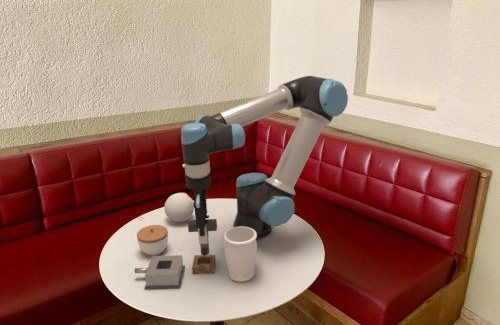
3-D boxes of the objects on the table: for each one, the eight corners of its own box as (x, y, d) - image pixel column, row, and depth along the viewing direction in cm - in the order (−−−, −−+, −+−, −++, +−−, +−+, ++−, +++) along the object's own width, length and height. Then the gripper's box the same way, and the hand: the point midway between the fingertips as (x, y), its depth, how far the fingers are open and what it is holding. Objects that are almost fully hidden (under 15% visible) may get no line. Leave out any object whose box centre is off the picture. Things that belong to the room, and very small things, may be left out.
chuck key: (218, 249, 127) (216, 218, 123) (218, 254, 124) (215, 223, 120) (192, 250, 127) (188, 220, 123) (191, 255, 124) (187, 224, 120)
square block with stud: (185, 266, 128) (184, 254, 126) (180, 288, 117) (178, 275, 116) (140, 268, 127) (138, 255, 126) (131, 289, 117) (129, 276, 115)
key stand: (215, 260, 131) (214, 254, 130) (213, 273, 124) (213, 267, 123) (195, 261, 130) (194, 255, 130) (192, 274, 124) (192, 267, 123)
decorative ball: (200, 219, 158) (199, 193, 154) (178, 230, 150) (175, 203, 146) (182, 210, 166) (180, 186, 162) (160, 221, 157) (157, 195, 153)
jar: (246, 288, 117) (245, 247, 111) (219, 277, 122) (216, 237, 117) (263, 270, 125) (263, 231, 120) (237, 261, 130) (236, 222, 125)
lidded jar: (162, 261, 131) (159, 237, 128) (133, 257, 133) (130, 234, 130) (174, 244, 141) (171, 222, 138) (147, 241, 143) (144, 219, 140)
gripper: (188, 165, 123) (195, 227, 131) (181, 185, 108) (189, 254, 116) (211, 164, 123) (216, 226, 131) (208, 184, 108) (213, 253, 116)
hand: (204, 239), depth 124 cm, fingers closed on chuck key, 3 cm apart
